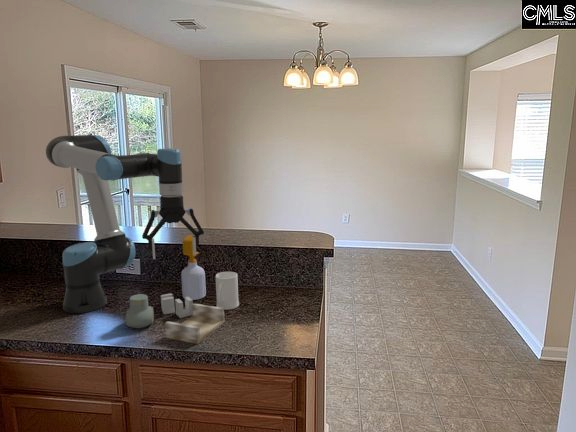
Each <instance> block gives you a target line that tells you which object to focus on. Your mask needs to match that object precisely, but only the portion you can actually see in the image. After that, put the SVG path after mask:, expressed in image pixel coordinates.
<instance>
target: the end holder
mask: <svg viewBox="0 0 576 432" xmlns="http://www.w3.org/2000/svg"><path fill="white" fill-rule="evenodd" d="M192 308H193V315H190V316H189V318H187V319H186V320H184V321H183V322H181V323H179V322H173V321H168V320H167V321H166V322H165V323H164V326H165V334H164V336H165V338H166V339H171V340H176V341H181V342H186V343H190V344H196V345H198V344H199V343H201V342H202V341H203V340H205V339H206V338H207V337H209V335H211V334H212V333H213V332H214V331H215V330H216V329H218V328H219V327H220V326H222V325H223V324H224V323H225V322H226V318H225V310H224V308H220V307H217V306H213V305H207V304H201V303H194V302H193V305H192Z"/></svg>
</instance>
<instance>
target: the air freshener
mask: <svg viewBox="0 0 576 432" xmlns="http://www.w3.org/2000/svg"><path fill="white" fill-rule="evenodd" d="M154 311H155V310H154V307H153V306H150V305H149V297H148V295H147V294H143V293H138V294H134V295H131V296H130V297H129V309H127V310H126V314H125V324H126V326H128V327H130V328H132V329H142V328H145V327H148V326H150V325H152V323H154V317H155V316H154Z"/></svg>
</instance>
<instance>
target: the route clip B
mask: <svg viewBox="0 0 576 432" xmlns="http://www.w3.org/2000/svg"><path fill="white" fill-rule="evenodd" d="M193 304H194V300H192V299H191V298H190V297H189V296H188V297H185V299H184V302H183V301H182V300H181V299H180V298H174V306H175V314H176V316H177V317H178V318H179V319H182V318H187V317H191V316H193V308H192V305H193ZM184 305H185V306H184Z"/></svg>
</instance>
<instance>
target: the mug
mask: <svg viewBox="0 0 576 432" xmlns="http://www.w3.org/2000/svg"><path fill="white" fill-rule="evenodd" d="M238 276H239V275H238V273H237V272H234V271H221V272H217V273H216V274H215V291H216V292H215V294H216V306H215V307H220V308H224V311H225V310H228V311H229V310H233V309H236V308H238V307H239V306H240V301H239V283H238V282H239V281H238V278H239V277H238Z"/></svg>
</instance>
